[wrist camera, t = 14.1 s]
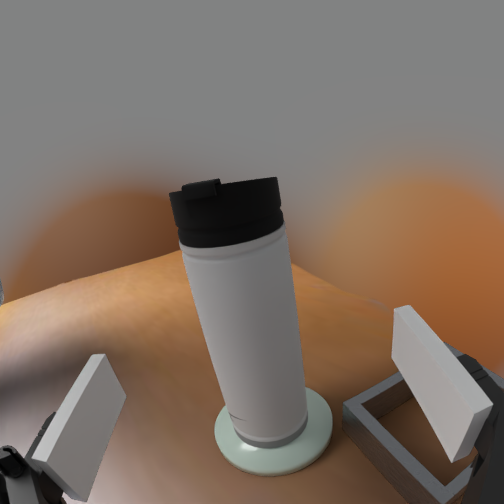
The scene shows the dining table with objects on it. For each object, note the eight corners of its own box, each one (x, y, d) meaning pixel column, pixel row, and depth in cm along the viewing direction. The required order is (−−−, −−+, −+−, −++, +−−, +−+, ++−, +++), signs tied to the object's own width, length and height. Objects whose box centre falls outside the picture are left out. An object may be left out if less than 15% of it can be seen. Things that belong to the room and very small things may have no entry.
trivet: (205, 412, 28) (202, 404, 27) (300, 378, 30) (299, 369, 30) (238, 493, 19) (235, 487, 18) (354, 442, 21) (355, 434, 21)
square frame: (342, 428, 23) (342, 402, 22) (438, 368, 26) (444, 341, 25) (427, 523, 12) (442, 505, 11) (523, 428, 16) (538, 401, 14)
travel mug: (223, 448, 22) (141, 194, 15) (245, 394, 28) (194, 174, 21) (301, 456, 20) (260, 174, 14) (312, 397, 26) (284, 160, 19)
